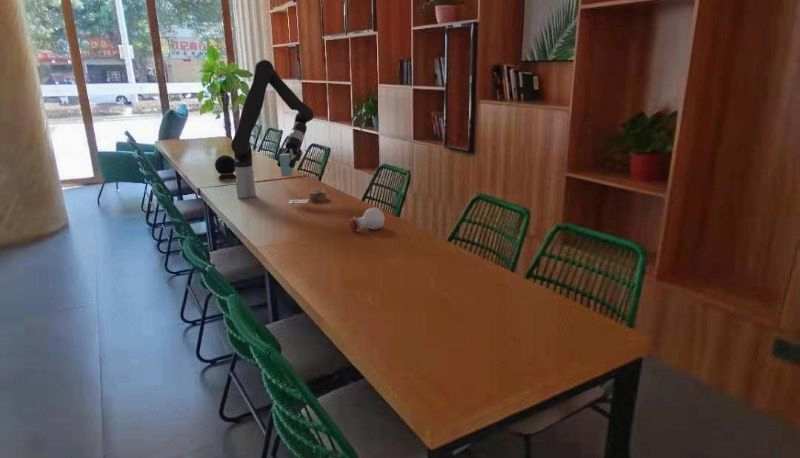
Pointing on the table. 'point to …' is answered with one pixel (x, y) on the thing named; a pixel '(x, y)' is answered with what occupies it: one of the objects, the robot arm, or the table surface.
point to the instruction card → (298, 201)
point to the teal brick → (285, 164)
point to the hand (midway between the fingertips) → (284, 166)
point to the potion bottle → (368, 220)
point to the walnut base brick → (317, 195)
